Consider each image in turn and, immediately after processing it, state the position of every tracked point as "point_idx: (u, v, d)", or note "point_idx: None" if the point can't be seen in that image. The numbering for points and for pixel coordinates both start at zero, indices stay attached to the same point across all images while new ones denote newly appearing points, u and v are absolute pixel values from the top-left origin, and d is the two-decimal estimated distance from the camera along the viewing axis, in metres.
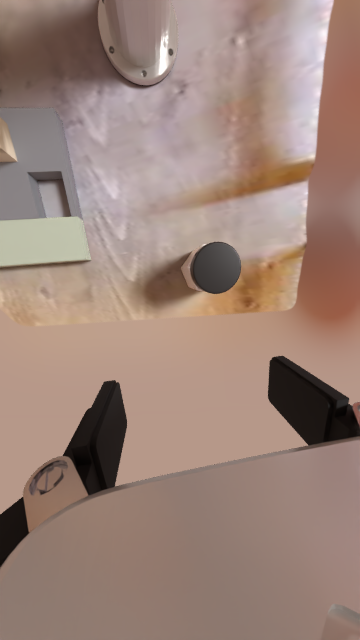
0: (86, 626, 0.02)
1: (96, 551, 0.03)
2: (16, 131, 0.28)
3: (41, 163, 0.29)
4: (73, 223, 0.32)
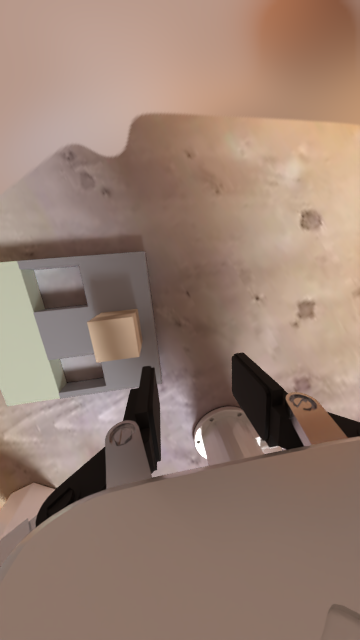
0: (86, 626, 0.02)
1: (96, 551, 0.03)
2: None
3: (110, 368, 0.26)
4: (51, 394, 0.26)
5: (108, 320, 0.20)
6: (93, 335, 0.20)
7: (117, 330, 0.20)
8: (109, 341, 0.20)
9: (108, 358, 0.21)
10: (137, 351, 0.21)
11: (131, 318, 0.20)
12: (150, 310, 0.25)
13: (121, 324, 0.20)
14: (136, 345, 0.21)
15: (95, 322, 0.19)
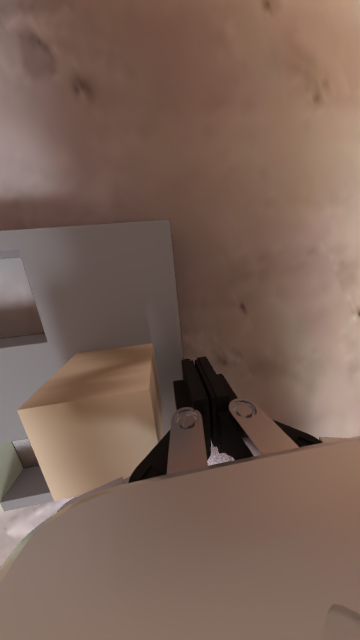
0: (86, 626, 0.02)
1: (96, 551, 0.03)
2: None
3: None
4: None
5: (80, 401, 0.07)
6: (39, 441, 0.07)
7: (107, 424, 0.07)
8: (85, 452, 0.07)
9: (85, 489, 0.08)
10: None
11: (145, 393, 0.07)
12: (178, 345, 0.12)
13: (116, 409, 0.07)
14: None
15: (42, 409, 0.07)
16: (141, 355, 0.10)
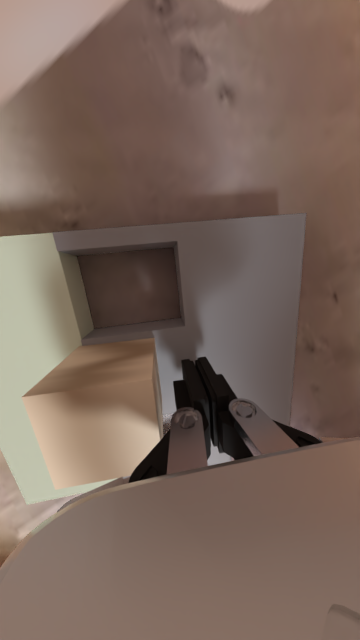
0: (86, 626, 0.02)
1: (96, 551, 0.03)
2: (259, 396, 0.14)
3: None
4: None
5: (84, 389, 0.07)
6: (42, 429, 0.07)
7: (110, 413, 0.07)
8: (87, 441, 0.08)
9: (86, 478, 0.08)
10: None
11: (148, 383, 0.07)
12: (294, 330, 0.13)
13: (119, 399, 0.07)
14: None
15: (46, 397, 0.07)
16: (143, 348, 0.10)
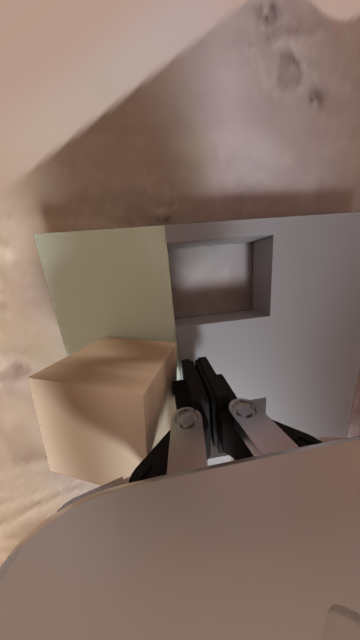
0: (86, 626, 0.02)
1: (96, 551, 0.03)
2: (326, 386, 0.15)
3: (277, 420, 0.15)
4: None
5: (77, 386, 0.07)
6: (42, 412, 0.07)
7: (99, 417, 0.07)
8: (77, 438, 0.07)
9: (75, 473, 0.08)
10: None
11: (138, 398, 0.06)
12: None
13: (108, 406, 0.06)
14: None
15: (46, 383, 0.07)
16: (158, 353, 0.09)
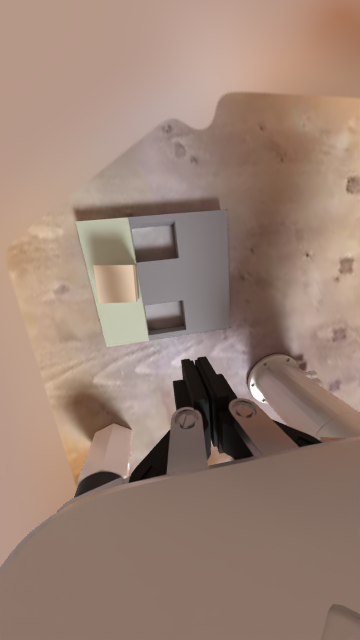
0: (86, 626, 0.02)
1: (96, 551, 0.03)
2: (214, 295, 0.31)
3: (191, 313, 0.31)
4: (142, 336, 0.31)
5: (111, 265, 0.23)
6: (98, 278, 0.23)
7: (119, 275, 0.23)
8: (111, 285, 0.23)
9: (109, 300, 0.24)
10: (134, 297, 0.24)
11: (131, 266, 0.23)
12: (227, 261, 0.30)
13: (122, 270, 0.23)
14: (134, 291, 0.24)
15: (100, 266, 0.23)
16: None
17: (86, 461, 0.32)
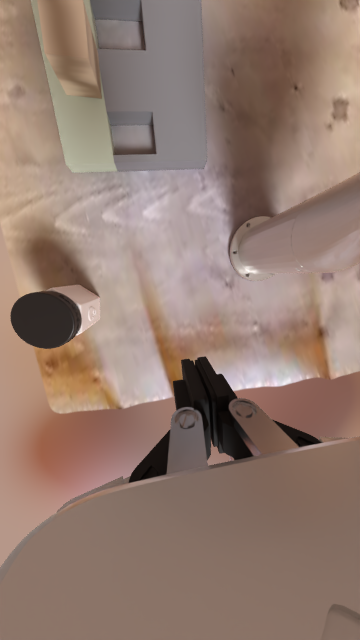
0: (86, 626, 0.02)
1: (96, 551, 0.03)
2: (187, 112, 0.28)
3: (161, 132, 0.28)
4: (106, 156, 0.28)
5: None
6: (42, 13, 0.20)
7: (67, 13, 0.20)
8: (58, 27, 0.20)
9: (56, 50, 0.21)
10: (87, 50, 0.21)
11: (81, 1, 0.20)
12: (202, 65, 0.26)
13: (70, 7, 0.20)
14: (86, 42, 0.21)
15: None
16: None
17: None
